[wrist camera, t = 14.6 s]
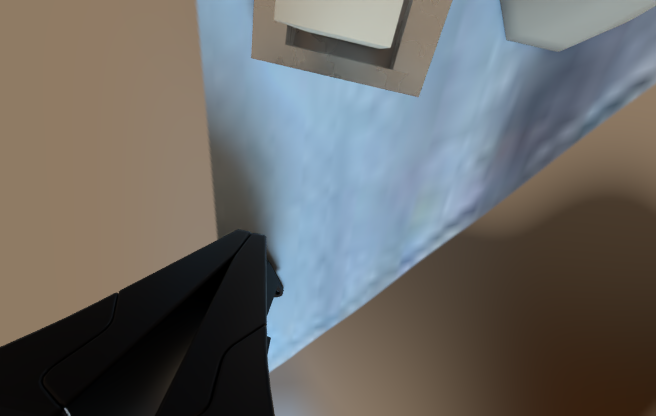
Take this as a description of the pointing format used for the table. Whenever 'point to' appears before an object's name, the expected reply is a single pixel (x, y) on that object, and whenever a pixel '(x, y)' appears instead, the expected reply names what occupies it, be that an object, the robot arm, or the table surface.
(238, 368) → the robot arm
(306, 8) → the plug
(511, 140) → the table surface
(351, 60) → the socket
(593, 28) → the flask
